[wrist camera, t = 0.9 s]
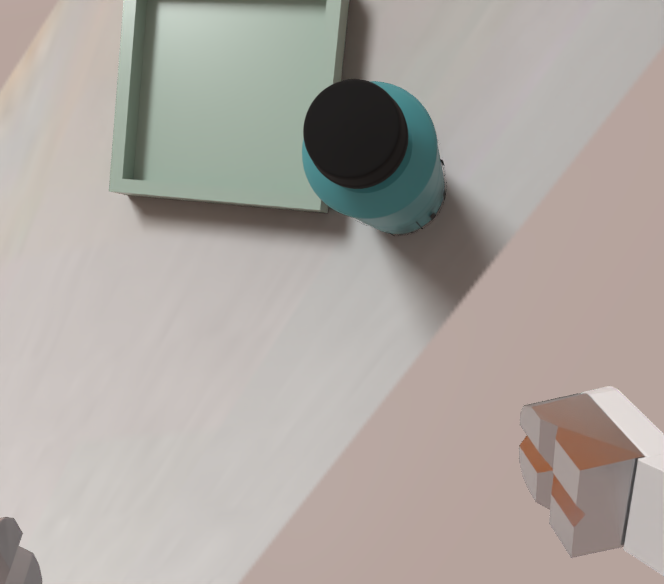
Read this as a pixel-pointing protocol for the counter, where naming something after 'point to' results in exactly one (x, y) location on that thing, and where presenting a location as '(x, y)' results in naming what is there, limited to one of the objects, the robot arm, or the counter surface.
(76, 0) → the counter surface
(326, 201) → the beverage bottle
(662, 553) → the robot arm
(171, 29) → the tray
